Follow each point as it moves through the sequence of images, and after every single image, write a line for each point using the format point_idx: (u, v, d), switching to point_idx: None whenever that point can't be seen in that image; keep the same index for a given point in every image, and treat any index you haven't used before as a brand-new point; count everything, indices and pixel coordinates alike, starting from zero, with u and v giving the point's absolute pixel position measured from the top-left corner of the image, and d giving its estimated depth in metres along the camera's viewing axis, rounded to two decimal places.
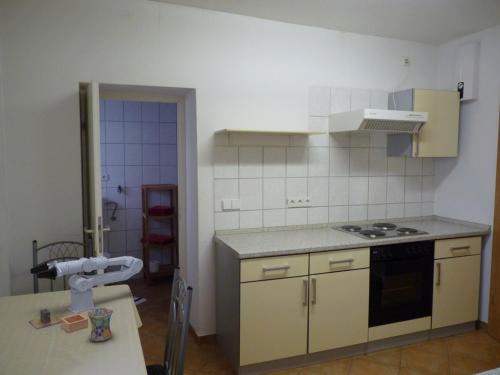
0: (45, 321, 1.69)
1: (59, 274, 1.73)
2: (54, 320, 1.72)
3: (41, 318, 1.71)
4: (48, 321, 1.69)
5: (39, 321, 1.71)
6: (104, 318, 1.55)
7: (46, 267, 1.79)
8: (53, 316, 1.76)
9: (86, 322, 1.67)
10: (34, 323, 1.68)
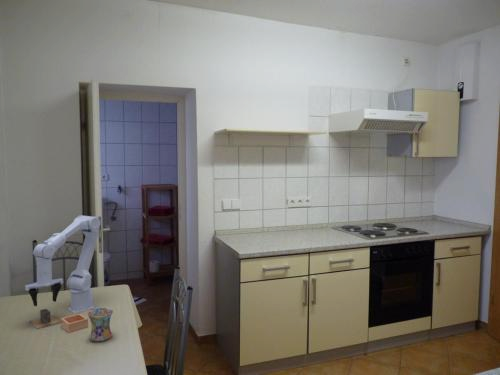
0: (45, 321, 1.69)
1: None
2: (54, 320, 1.72)
3: (41, 318, 1.71)
4: (48, 321, 1.69)
5: (39, 321, 1.71)
6: (104, 318, 1.55)
7: None
8: (53, 316, 1.76)
9: (86, 322, 1.67)
10: (34, 323, 1.68)
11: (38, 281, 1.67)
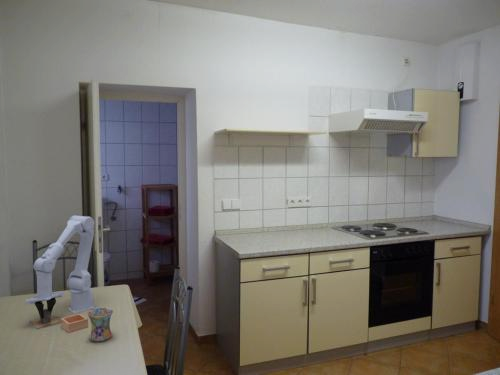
0: (45, 321, 1.69)
1: None
2: (54, 320, 1.72)
3: None
4: (48, 321, 1.69)
5: (39, 321, 1.71)
6: (104, 318, 1.55)
7: None
8: (53, 316, 1.76)
9: (86, 322, 1.67)
10: (34, 323, 1.68)
11: (38, 295, 1.68)
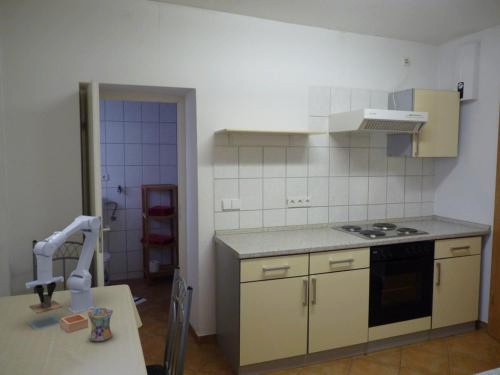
0: (45, 306, 1.68)
1: None
2: (54, 305, 1.71)
3: (41, 303, 1.70)
4: (48, 306, 1.69)
5: (39, 306, 1.70)
6: (104, 318, 1.55)
7: None
8: (53, 301, 1.75)
9: (86, 322, 1.67)
10: (34, 308, 1.68)
11: (39, 279, 1.67)
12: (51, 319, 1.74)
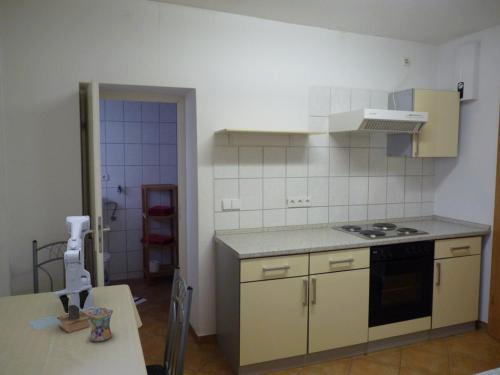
0: (74, 317, 1.65)
1: None
2: (83, 316, 1.68)
3: (69, 314, 1.67)
4: (77, 317, 1.65)
5: (67, 317, 1.66)
6: (104, 318, 1.55)
7: None
8: (81, 312, 1.72)
9: (86, 322, 1.67)
10: (63, 319, 1.64)
11: (68, 288, 1.63)
12: (51, 319, 1.74)
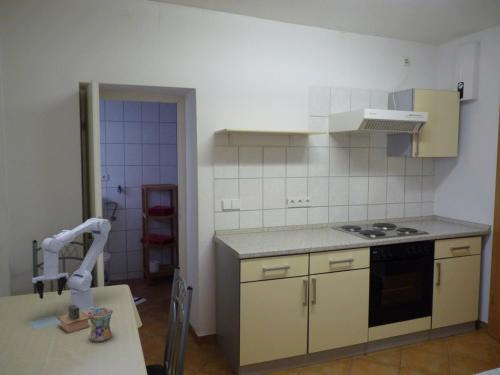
0: (74, 317, 1.65)
1: None
2: (83, 316, 1.68)
3: (69, 314, 1.67)
4: (77, 317, 1.65)
5: (67, 317, 1.66)
6: (104, 318, 1.55)
7: None
8: (81, 312, 1.72)
9: (86, 322, 1.67)
10: (63, 319, 1.64)
11: (45, 274, 1.72)
12: (51, 319, 1.74)
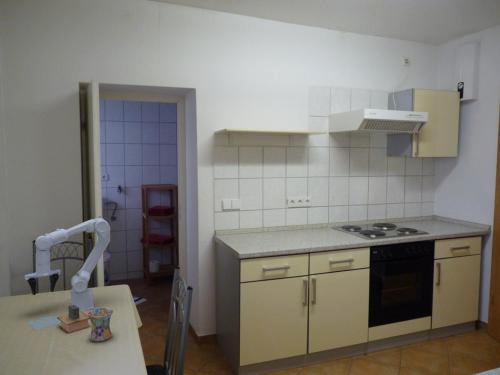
0: (74, 317, 1.65)
1: None
2: (83, 316, 1.68)
3: (69, 314, 1.67)
4: (77, 317, 1.65)
5: (67, 317, 1.66)
6: (104, 318, 1.55)
7: None
8: (81, 312, 1.72)
9: (86, 322, 1.67)
10: (63, 319, 1.64)
11: (37, 271, 1.76)
12: (51, 319, 1.74)
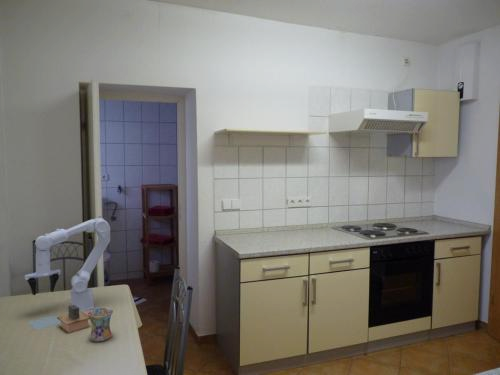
0: (74, 317, 1.65)
1: None
2: (83, 316, 1.68)
3: (69, 314, 1.67)
4: (77, 317, 1.65)
5: (67, 317, 1.66)
6: (104, 318, 1.55)
7: None
8: (81, 312, 1.72)
9: (86, 322, 1.67)
10: (63, 319, 1.64)
11: (37, 271, 1.76)
12: (51, 319, 1.74)
